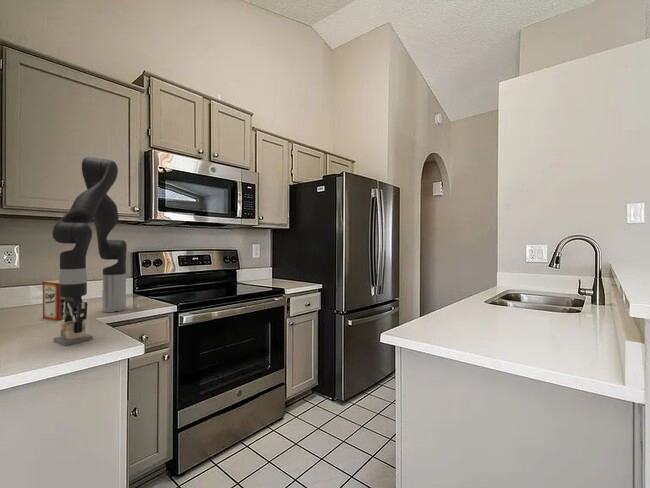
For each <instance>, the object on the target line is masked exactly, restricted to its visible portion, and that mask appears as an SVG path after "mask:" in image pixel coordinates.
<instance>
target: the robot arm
mask: <svg viewBox="0 0 650 488" xmlns="http://www.w3.org/2000/svg"><path fill="white" fill-rule="evenodd" d="M81 173H82V178H83V181H84V183H85V188H86V190H84V191H83V192H81V193H80V194H79V195H77V197H76V198H75V200H74V201H73V203H72V205H71V207H70V209H69V211H68V212H66V213H65V214H64V216H62V217H61V218H60V219H59V220H58V221H57V222H56V223H55V224H54V226H53V228H52V232H51V233H52V237H53V240H54V242H57V243H59V244H75V246H73V248H72V249H69V250H65V251H62V252H60V254H59V273H58V280H59V296H60V297H65V299H60V315H61V317H62V316H63V319H64V322H69V321H73V320H74V333H80V332H82V321H83V320H84V321H85V320H87V316H88V302H87V301H86V302H83V298H82V297H83V296H86V295H87V294H88V286H87V285H88V277H87V276H88V275H87V265H86V264H87V254H88V249H89V246H90V243H91V241H92V237H93V229H92V228H91V226H90V225H89V223H91V222H92V220H93V223H94V227H95V228H94V229H95V231H96V239H97V249H98V254H99V257H100V259H102V260H105V261H106V260H107V261H108V260H109V261H110V260H114V261H115V260H116V261H117V262H115V264H112V265H109V266H107V267H103V269H102V294H101V295H102V296H101V298H102V305H101V306H102V308H101V309H102V312H104V313H116V312H115V311H118V312H122V311H121V310H123V311H125V310H126V309H127V282H126V281H127V249H128V248H127V246H128V245H127V242H126V240H123V239H107V238H108V236H109V235H110V233H111V231H112V230H114V228H115V227H116V225H118V222H119V212H118V206H117V204H116V202H115V201H114V200H113V199H112V198H111V197H110V195H108V194H107V193H108V192H109V191H110V189H111V188H112V187H113V185H114V184H115V182H116V181H117V178H118V173H119V170H118V164H117V163H116V162H115V161H113V160H110V159H105V158H99V157H92V156H87V157H86V156H85V157H84V158H83V159H82V161H81ZM72 317H73V318H72Z"/></svg>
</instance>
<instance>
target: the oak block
mask: <svg viewBox="0 0 650 488" xmlns="http://www.w3.org/2000/svg"><path fill="white" fill-rule="evenodd" d="M85 334H86V321H85V320H84V321H82V332H80V333H74V321H69V322H63V323H61V322H60V337H61V338H63V339H66V340H71V339H76V338H80V337H84V336H85Z"/></svg>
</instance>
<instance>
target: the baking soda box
mask: <svg viewBox="0 0 650 488" xmlns="http://www.w3.org/2000/svg"><path fill="white" fill-rule="evenodd" d="M60 299H65V297H60V296H59V279H55V280H46V281H45V280H44V281H42V319H43V320H49V321H57V322H59V321H61V320H64V319H63V316H62V317H61V315H60ZM72 318H73V317H72Z"/></svg>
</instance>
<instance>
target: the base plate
mask: <svg viewBox="0 0 650 488" xmlns="http://www.w3.org/2000/svg"><path fill="white" fill-rule="evenodd" d="M91 340H94V339H93V335H91V334H87V333H85V336H84V337H80V338H76V339H71V340H66V339H63V338H61V336H57V337H54V338H53V342H54V343H57V344H59V345H61V346H64V347H66V346H70V345H74V344H79V343H82V342H87V341H91Z"/></svg>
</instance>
